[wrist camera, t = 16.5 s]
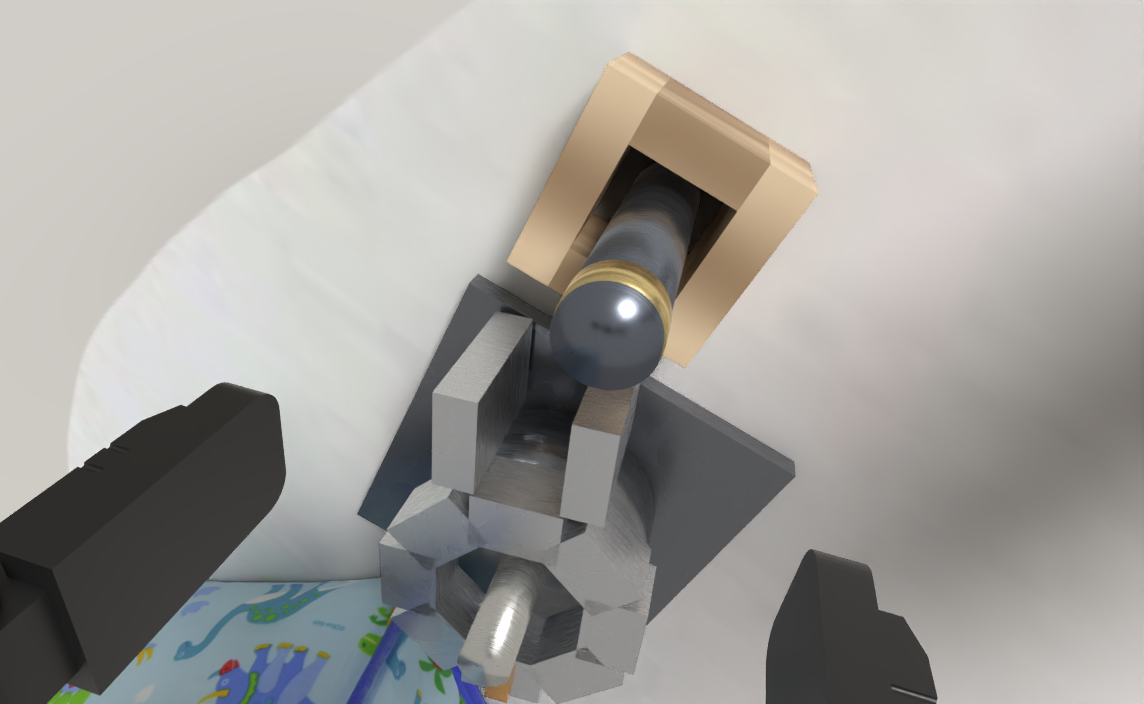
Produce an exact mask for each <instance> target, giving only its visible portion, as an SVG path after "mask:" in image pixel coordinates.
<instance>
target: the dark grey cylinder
mask: <svg viewBox="0 0 1144 704" xmlns="http://www.w3.org/2000/svg"><path fill="white" fill-rule="evenodd" d="M699 203H700V189H699V187H697V186H696V185H694V184H692V183H691V182H689V181H687V180H686V179H684V178H682V177H681V176H679V175H678V174H676V173H674V172H673V171H671V170H669V169H668V168H666V167H664V166H663V165H661V164H660V163H655V164H652V165H650V166H648V167H647V168H645V169H644V170H643V171H642V172H641V173H640V174H639V175H638V176H637V178H636V179H635V181H634V183H633V184H632V186H631V188H630V189H629V191H628V192H627V194H626V196H625V197H624V199H623V201H622V202H621V204H620V206H619V207H618V209H617V211H616V212H615V214H614V216H613V217H612V219H611V221H610V222H609V224H608V225H607V227H606V229H605V230H604V232H603V234H602V235H601V237H600V239H599V240H598V242H597V244H596V245H595V247H594V249H593V250H592V252H591V254H590V255H589V257H588V258H587V260H586V262H585V263H584V265H583V267H582V268H581V270H580V272H579V273H578V274H577V275H576V276H575V277H574V278H573V280H572V281H571V283H570V284H569V286H568V287H567V289H566V291H565V292H564V294H563V296H562V297H561V299H560V300H559V302H558V304H557V306H556V308H555V311H554V313H553V318H552V320H551V324H550V330H549V338H550V344H551V348H552V351H553V354H554V356H555V358H556V360H557V361H558V363H559V364H560V366H561V367H562V368H563V369H564V370H565V371H566V372H567V373H568V374H569V375H570V376H571V377H573V378H574V379H575V380H577V381H579V382H581V383H582V384H585V385H587V386H589V387H593V388H596V389H601V390H622V389H626V388H630V387H632V386H635V385H637V384H639V383H640V382H642V381H644V380H645V379H646V378H647V377H648V376H649V375H650V374H651V373H652V372H653V371H654V369H655V368H656V367H657V364H658V362H659V361H660V359H661V357H662V355H663V353H664V350H665V347H666V343H667V339H668V335H669V331H670V327H671V322H672V310H673V306H674V302H675V298H676V294H677V290H678V286H679V282H680V278H681V274H682V270H683V267H684V263H685V259H686V255H687V251H688V247H689V243H690V239H691V235H692V231H693V227H694V223H695V219H696V215H697V211H698V207H699Z"/></svg>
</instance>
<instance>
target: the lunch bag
mask: <svg viewBox="0 0 1144 704" xmlns="http://www.w3.org/2000/svg"><path fill="white" fill-rule="evenodd" d="M395 608H396V607H394V606H391V605H387V604H384V603H382V596H381V578H371V579H362V580H345V581H333V580H332V581H326V582H282V583H280V582H217V581H205V582H204V584H203V585H202V586H201V587H200V588H199V589H198V590H197V591H196V592H195V593H194V594H193V596H192V597H191V598H190V599H189V600H188V601H187V602H186V603H185V604H184V605H183V606H182V607H181V609H180V610H179V611H178V612H177V613H176V614H175V615H174V616H173V617H172V618H171V619H170V621H169V622H168V623H167V624H166V625H165V626H164V627H163V628H162V629H161V630H160V631H159V632H158V634H157V635H156V636H155V637H154V638H153V639H152V640H151V641H150V642H149V643H148V644H147V646H146V647H145V648H144V649H143V650H142V651H141V652H140V653H139V654H138V655H137V656H136V657H135V659H134V660H133V661H132V662H131V663H130V664H129V665H128V666H127V667H126V668H125V669H124V671H123V672H122V673H121V674H120V675H119V676H118V677H117V678H116V679H115V680H114V681H113V682H112V684H111V685H110V686H109V687H108V688H107V689H106V690H105V691H104V692H103V693H102V694H101V696H99V695H97V694H94V693H91V692H88V691H86V690H83V689H80V688H77V687H75V686H72V685H69V684H66V685H65V686H64V687H63V688H62V689H61V690H60V691H59V692H58V693H57V694H56V695H55V696H54V697H53V698H52V699H51V700H50V701H49V702H48V704H486V703H485V701H484V698H483V696H482V695H481V693H480V691H479V689H478V686H477V685H474V684H470V683H467V682H464V681H461V675H462V672H461V670H460V669H459V667H458V666H455V667H452V668H450V669H447V670H444V671H443V670H442V669H441V668H440V667H439V666H438V665H437V664H436V663H435V662H434V661H433V660H432V659H431V658H430V657H429V656H428V655H427V654H426V653H425V652H424V651H423V650H422V649H421V648H420V647H419V646H418V645H417V644H416V643H415V642H414V641H413V640H412V639H411V638H410V637H409V636H408V635H407V634H406V633H405V632H403V631H402V630H401V629H400V628H399V627H398V626H397V625H396V624H395V623H394V622H393V621H392V620H391V619H390V617H391V615H392V614H393V612H394V610H395Z"/></svg>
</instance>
